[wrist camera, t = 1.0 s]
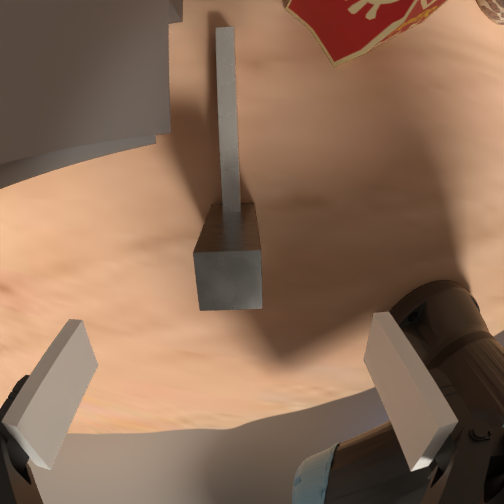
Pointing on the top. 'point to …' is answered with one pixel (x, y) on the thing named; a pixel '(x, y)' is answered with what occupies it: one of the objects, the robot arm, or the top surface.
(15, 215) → the top surface
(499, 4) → the figurine
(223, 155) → the grey l-shaped bracket
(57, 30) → the cabinet
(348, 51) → the milk carton
